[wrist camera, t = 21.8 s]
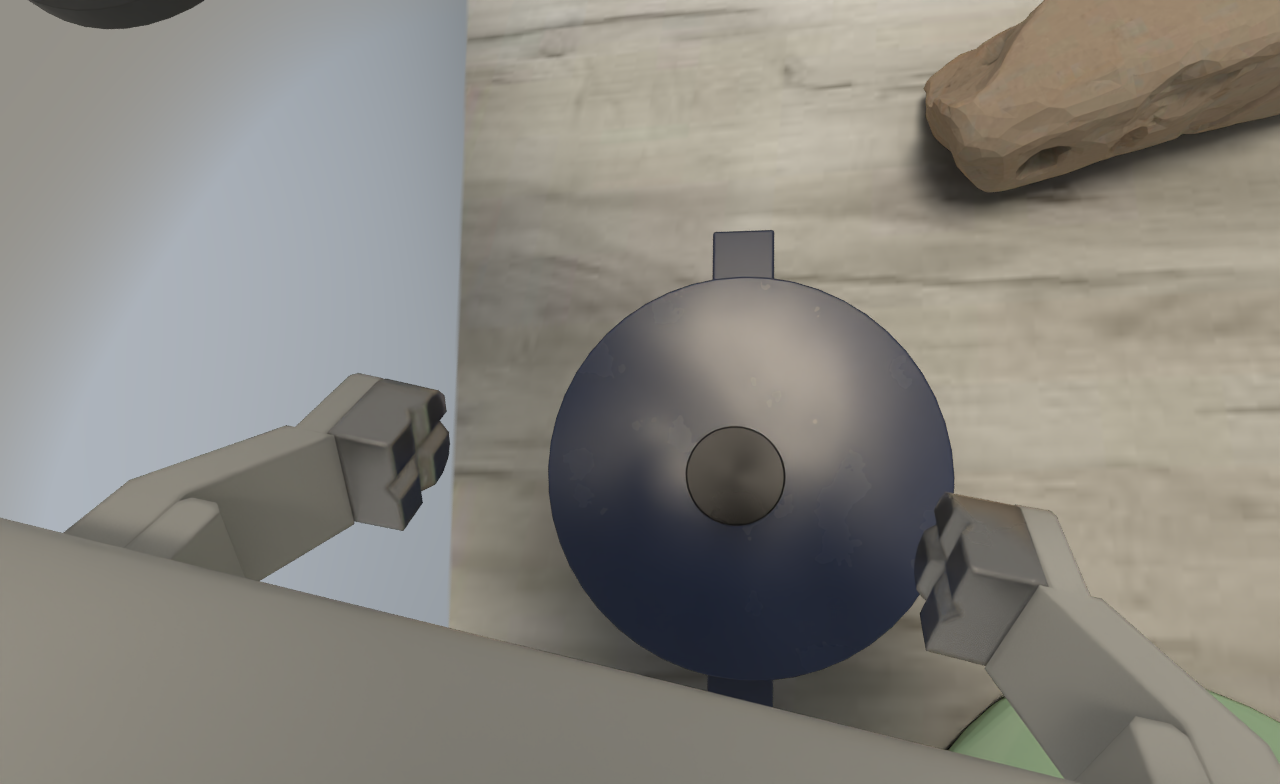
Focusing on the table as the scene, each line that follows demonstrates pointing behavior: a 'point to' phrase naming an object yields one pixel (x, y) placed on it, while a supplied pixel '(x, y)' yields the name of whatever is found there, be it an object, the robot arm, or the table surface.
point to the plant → (1015, 746)
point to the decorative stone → (1103, 84)
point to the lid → (748, 477)
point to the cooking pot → (730, 260)
